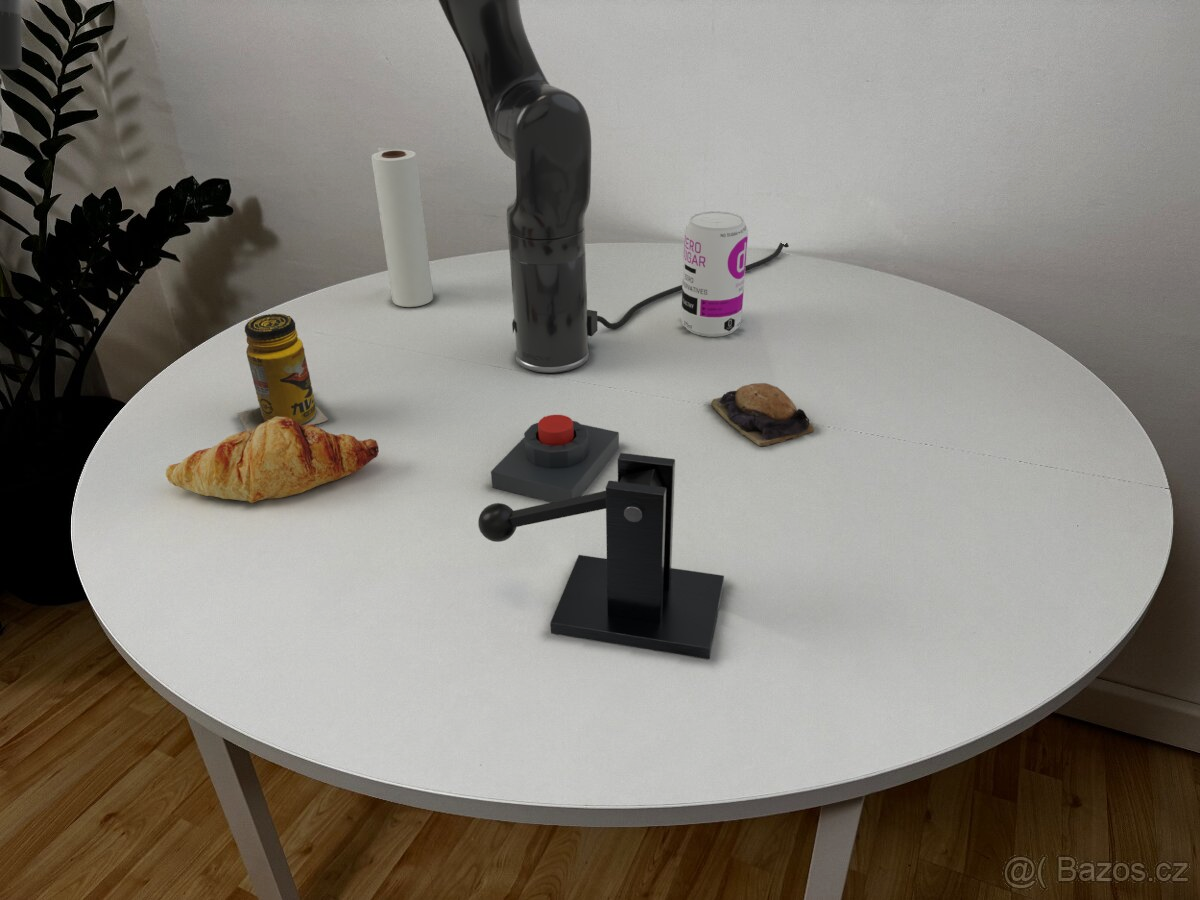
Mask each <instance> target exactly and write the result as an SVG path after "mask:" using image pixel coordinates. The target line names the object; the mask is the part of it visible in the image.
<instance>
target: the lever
mask: <svg viewBox="0 0 1200 900" xmlns="http://www.w3.org/2000/svg"><path fill="white" fill-rule="evenodd" d="M620 482H625V483H633V484H641V485H649V486H657V487H662V484H661V482H660V480H659V478H658V475H657V473H656V471H655V469H651V470H646V471H642V472H637V473H633V474H628V475H624V476H622V478H621V481H620ZM601 510H606V490H602V491H599V492H594V493H593V492H592V493H590V494H585V495H581V496H579V497H575V498H570V499H565V500H561V501H556V502H547V503H542V504H540V505H539V504H538V505H534V506H529V507H524V508H518V509H515V510H513V509H512V508H511V506H510V505H507V504H505V503H503V502H502V503H500V502H494V503H491V504H489V505H487V506H486V507H485V508H483V509H482V511H481V512H480V514H479V516H478V523H477V524H478V529H479V531H480V533H481V535H482V536H483V537H484V538H485V539H487V540H488V541H491V542H495V543H501V542H504V541H505V542H506V541H507V540H509V539H510V538H511V537H513V535H514V534H515V532H516V530H517V528H519V527H523V526H528V525H532V524H537V523H541V522H542V523H543V522H549V521H553V520H557V519H561V518H562V519H563V518H566V517H572V516H576V515H582V514H587V513H591V512H596V511H601Z"/></svg>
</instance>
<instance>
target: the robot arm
mask: <svg viewBox="0 0 1200 900" xmlns="http://www.w3.org/2000/svg"><path fill="white" fill-rule="evenodd" d="M437 1H438V3H439V5H440V7H441V9H442V11H443V13H444V16H445V18H446V20H447V22H448V24H449V26H450V28H451V30H452V32H453V33H454V35H455V37H456V39H457V42H458V43H459V45H460V47H461V49H462V52H463V53H464V55H465V58H466V61H467V64H468V65H469V69H470V71H471V74H472V77H473V80H474V83H475V85H476V89H477V91H478V95H479V98H480V101H481V104H482V107H483V110H484V113H485V116H486V120H487V123H488V125H489V129H490V131H491V134H492V136H493V139H494V141H495V143H496V144H497V146H498V147H499V149H500V150H501V151H502V153H503V154H504V155H505V156H507V157H508V158H509V159H511V160H512V161H513V162H514V164H515V189H516V190H515V191H516V192H515V199H513V200H512V201H511V202H509V204H507V208H506V225H507V227H506V228H507V239H508V252H509V264H510V277H511V279H510V280H511V294H512V295H511V296H512V309H513V310H512V311H513V319H512V323H511V326H512V328H511V329H512V333H514V338H515V340H514V341H515V360H516V363H517V364H518V365H519V366H520V367H522V368H524V369H526V370H529V371H532V372H536V373H546V374H549V373H550V374H552V373H554V374H555V373H563V372H568V371H571V370H575V369H577V368H579V367H581V366H583V365H584V364H586V363H587V361H588V360H589V355H590V354H589V351H590V350H589V337H593V336H594V335H595V334H596V333H597V332H598V329H599V327H598V322H599V323H601V325H603V326H604V327H605V328H606V329H611V330H615V329H618V328H620V327H622V326H623V325H625V324H626V323H627V322H628V321H629V319H630V318H631V317H632V316H633V314H634V313H636V311H638V310H639V309H641V308H643V307H645V306H647V305H649V304H650V303H653V302H655V301H657V300H660V299H663V298H665V297H667V296H670V295H672V294H676V293H678V292H682V284H680V285H678V286H677V285H676V286H675V287H672V288H668V289H667V290H663V291H661V292H659V293H656V294H653V295H651V296H649V297H647V298H645V299H643V300H642V301H640V302H638V303H636V304H634V305H633V306H632V307H630V309H628V310H627V312H626V313H625V314H624V315H623V317H622V318H621V319H620V320H618V321H616V322H610V321H608V320H607V319H606V318H604V317H603V316H601V315H598V310H591V309H588V289H587V285H588V284H587V265H586V264H587V261H586V259H587V258H586V227H585V226H586V225H585V223H586V221H585V220H586V219H585V217H586V212H587V210H588V208H589V204H590V200H591V193H592V192H591V188H592V130H591V123H590V119H589V115H588V113H587V111H586V108H585V107H584V105H583V104H582V102H581V101H580V100H579V98H577V97H576V96H575V95H574V94H572V93H570V92H568V91H566V90H564V89H561V88H559V87H555V86H553V85H551V84H550V82H549V81H548V79H547V77H546V75H545V74H544V71H543V70H542V68H541V65H540V63H539V61H538V59H537V57H536V54H535V52H534V50H533V48H532V46H531V44H530V41H529V38H528V36H527V33H526V30H525V27H524V23H523V19H522V13H521V6H520V0H437ZM22 45H23V44H22V0H0V70H5V71H6V70H7V71H16V70H18V69H20V68H21V67H22V65H23V55H22V51H23V47H22ZM2 84H3V79H2V78H1V77H0V144H2V143H3V140H4V138H5V135H4V134H5V133H3V111H2V86H1V85H2ZM789 247H790V246H789V244H788V242H787V243H786V244H785V245H784V244H782V243H781V242H779V244H778V246H777V248H776V250H775V251H774V252H773V253H772V254H770V255H768V256H766V257H764V258H762V259H760V260H757V261H755V262H752V263H749V264H747V265H746V266H745V272H746V271H749V270H752V269H755V268H758V267H760V266H762V265H764V264H766V263H769V262H770V261H772V260H774V259H776V258H777V257H778V256H779V255H780V253H781V252H782V251H783V248H789Z"/></svg>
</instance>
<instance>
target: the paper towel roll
mask: <svg viewBox="0 0 1200 900" xmlns="http://www.w3.org/2000/svg"><path fill="white" fill-rule="evenodd" d="M417 158H418V157H417V153H416V152H415V151H413V150H409V149H402V148H383V147H378V151H377V152H375V153H373V154H371V164H372V170H373V177H374V178H373V179H374V185H375V193H376V197H377V198H376V200H377V205H378V211H379V212H378V213H379V218H380V225H381V233H382V237H383V245H384V246H383V247H384V253H385V258H386V266H387V272H388V273H387V274H388V280H389V285H390V293H391V299H392V300H391V301H392V302H393V304H394V305H396V306H399V307H406V308H414V307H420V306H424V305H426V304H429V303H431V302H432V301H433V300H434V292H433V291H434V290H433V284H432V282H433V281H432V275H431V268H430V265H431V264H430V258H429V250H428V249H429V248H428V243H427V242H428V240H427V233H426V232H427V231H426V226H425V218H424V209H423V200H422V193H421V185H420V175H419V166H418V159H417Z"/></svg>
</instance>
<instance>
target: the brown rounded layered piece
mask: <svg viewBox="0 0 1200 900" xmlns="http://www.w3.org/2000/svg"><path fill="white" fill-rule="evenodd" d="M710 405H711V406H712V407H713V409H714V410H715V411H716V412H717V413H718V415H720V417H722V418H723V420H725V421H726V422H727V423H728V424H729V425H730V426H732V428H734V429H735V430H737V431H738V432H740V435H741V436H745V437H746V438H747V439H749V440H750V441H751V442H752V443H753V444H755V445H757V446H758V447H764V446H765V447H766V446H767V447H770V445H774V444H777V443H784V442H786V440H789V439H793V440H794V439H797V438H799V437H801V436H804V435H807V434H811V433H814V431H815V428H814V426H813V425H812V424H811V423H810V418H808V416H807V414H806V412H805V411H804V410H803V409H801V408H797V406H796V405H795V403H794V402H793V400H792V399H790V397H789V396H788V395H787V394H786V393H785V392H784V391H783V390H782V389H780V388H779V387H777V386H774V385H772V384H769V383H766V382H758V383H750V384H747V385H742V386H740V387H739V388H737V389H736V390H730V391H727V392H726V393H724V394H723V395H722V396H721V397H717V398H713V399H712V400H711V402H710Z"/></svg>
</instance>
